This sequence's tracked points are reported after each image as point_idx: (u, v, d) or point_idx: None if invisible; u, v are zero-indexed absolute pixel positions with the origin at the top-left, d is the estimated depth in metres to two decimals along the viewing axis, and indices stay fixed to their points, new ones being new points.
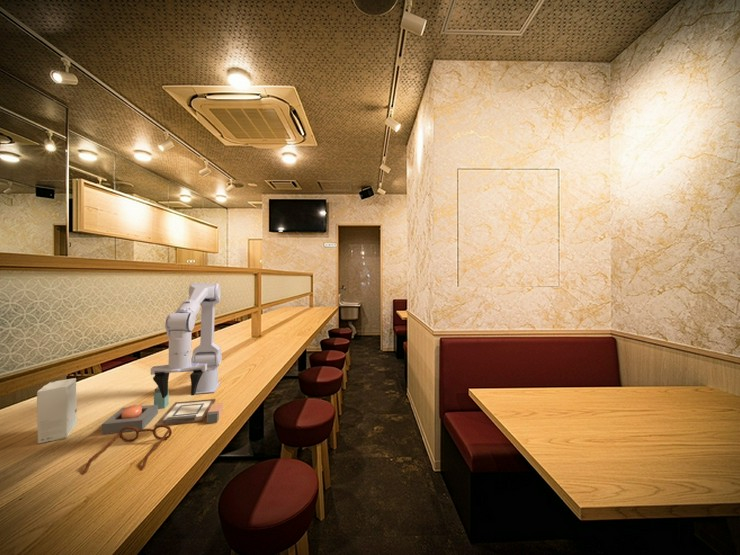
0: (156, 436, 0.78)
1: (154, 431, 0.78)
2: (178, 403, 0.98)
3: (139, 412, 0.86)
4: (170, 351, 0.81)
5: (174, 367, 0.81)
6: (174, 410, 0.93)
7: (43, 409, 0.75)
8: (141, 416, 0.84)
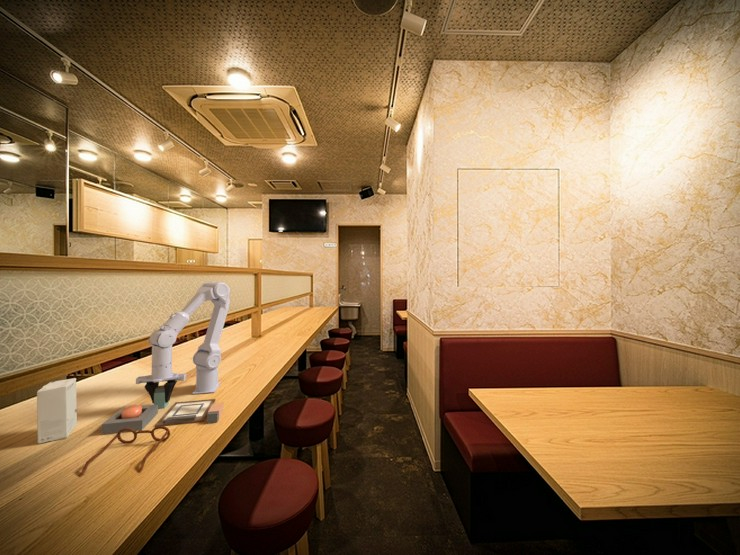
0: (154, 438, 0.77)
1: (152, 433, 0.77)
2: (178, 403, 0.98)
3: (139, 412, 0.86)
4: None
5: (156, 377, 0.94)
6: (174, 410, 0.93)
7: (43, 409, 0.75)
8: (141, 416, 0.84)
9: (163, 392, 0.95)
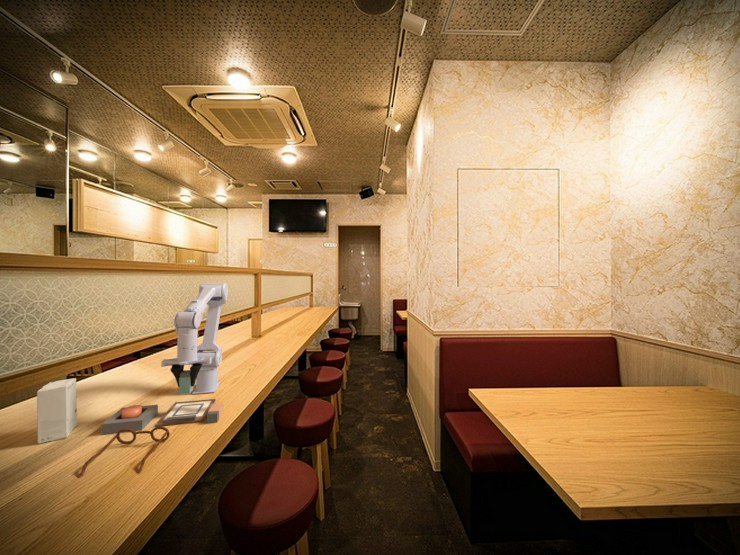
0: (154, 438, 0.77)
1: (152, 433, 0.77)
2: (178, 403, 0.98)
3: (139, 412, 0.86)
4: (178, 346, 0.91)
5: (182, 360, 0.91)
6: (174, 410, 0.93)
7: (43, 409, 0.75)
8: (141, 416, 0.84)
9: (188, 377, 0.92)
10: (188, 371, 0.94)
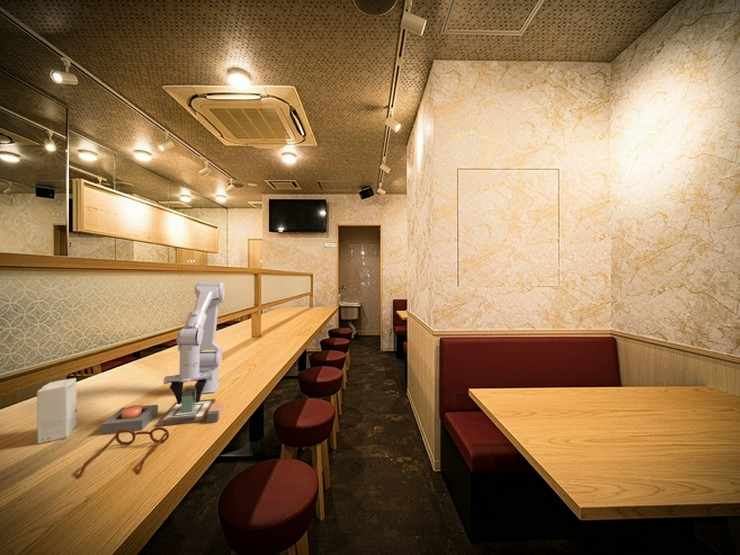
0: (153, 439, 0.77)
1: (151, 434, 0.76)
2: None
3: (139, 412, 0.86)
4: (181, 363, 0.91)
5: (184, 377, 0.91)
6: (174, 410, 0.93)
7: (43, 409, 0.75)
8: (141, 416, 0.84)
9: (191, 395, 0.92)
10: (190, 389, 0.94)
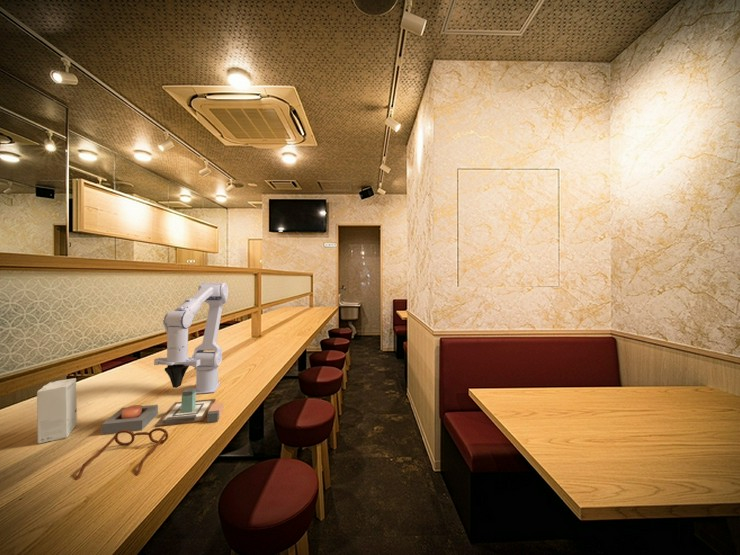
0: (152, 440, 0.76)
1: (150, 434, 0.76)
2: (178, 403, 0.98)
3: (139, 412, 0.86)
4: (167, 345, 0.89)
5: (169, 360, 0.89)
6: (174, 410, 0.93)
7: (43, 409, 0.75)
8: (141, 416, 0.84)
9: (191, 395, 0.92)
10: (190, 389, 0.94)
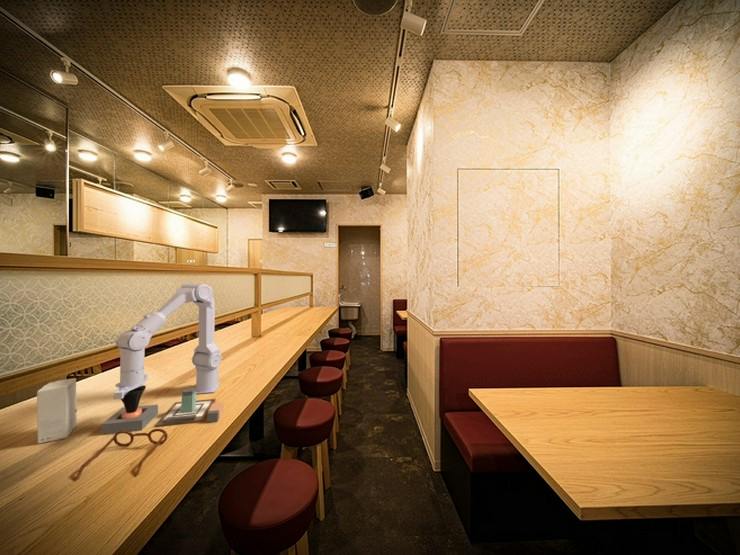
0: (151, 440, 0.76)
1: (149, 435, 0.76)
2: (178, 403, 0.98)
3: (139, 415, 0.86)
4: None
5: None
6: (174, 410, 0.93)
7: (43, 409, 0.75)
8: (141, 416, 0.84)
9: (191, 395, 0.92)
10: (190, 389, 0.94)
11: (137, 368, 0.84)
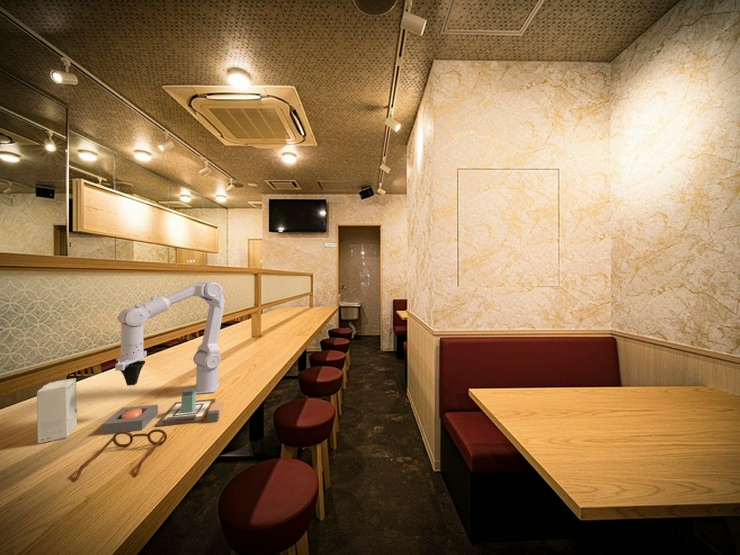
0: (151, 441, 0.76)
1: (149, 436, 0.75)
2: (178, 403, 0.98)
3: None
4: None
5: None
6: (174, 410, 0.93)
7: (43, 409, 0.75)
8: (141, 416, 0.84)
9: (191, 395, 0.92)
10: (190, 389, 0.94)
11: (134, 343, 0.88)
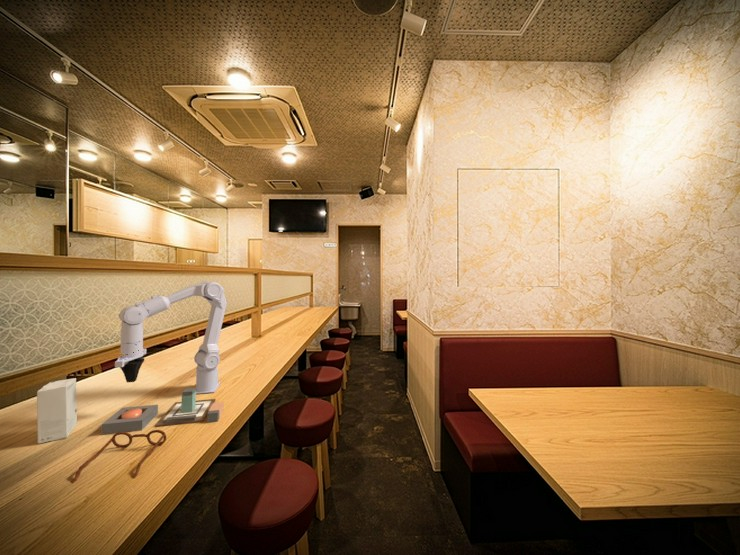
0: (150, 442, 0.75)
1: (148, 436, 0.75)
2: (178, 403, 0.98)
3: None
4: None
5: None
6: (174, 410, 0.93)
7: (43, 409, 0.75)
8: (141, 416, 0.84)
9: (191, 395, 0.92)
10: (190, 389, 0.94)
11: (133, 341, 0.90)
